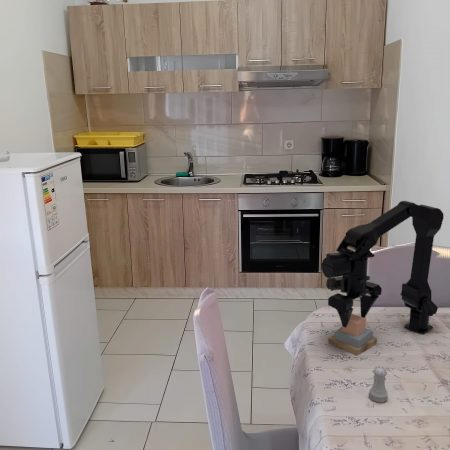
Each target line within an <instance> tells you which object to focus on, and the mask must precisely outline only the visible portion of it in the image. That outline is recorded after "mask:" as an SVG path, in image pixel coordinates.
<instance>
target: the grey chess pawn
mask: <svg viewBox="0 0 450 450" xmlns="http://www.w3.org/2000/svg"><path fill="white" fill-rule="evenodd" d="M372 372H373V374H374V375H373V379H374V381H373V385H372V386H371V388H369V393H368V396H369V398H370V400H371V401H373V402H375V403H381V404H383V403H385V402H387V400H388V398H389V397H388V396H389V392H388V391H387V389H386V383H385V381H386V379H387V378H386V377H385V376H387V375H388V372H387V369H386V368H385V367H384V366H380V365H377V366H375V367H374V369H373V370H372Z"/></svg>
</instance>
